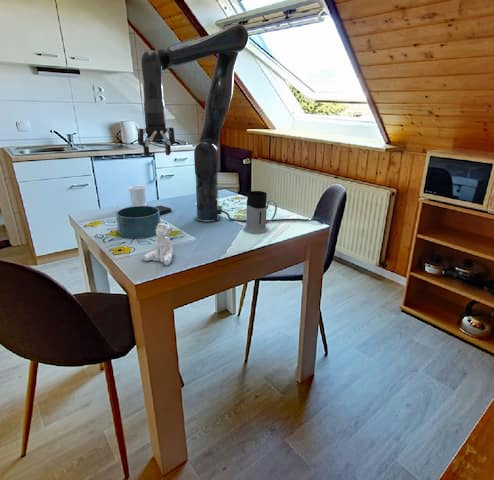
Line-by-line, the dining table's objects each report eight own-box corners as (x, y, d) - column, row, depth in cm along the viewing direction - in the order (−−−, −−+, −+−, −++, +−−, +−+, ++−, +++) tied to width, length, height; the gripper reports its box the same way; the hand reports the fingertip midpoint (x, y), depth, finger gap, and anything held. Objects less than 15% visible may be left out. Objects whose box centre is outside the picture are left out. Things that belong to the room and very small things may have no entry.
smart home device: (171, 208, 161) (136, 218, 146) (172, 211, 161) (136, 222, 147) (160, 204, 165) (124, 214, 151) (160, 208, 166) (125, 218, 151)
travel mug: (254, 224, 145) (256, 189, 140) (281, 233, 136) (284, 195, 130) (240, 229, 139) (241, 193, 134) (267, 238, 130) (269, 200, 124)
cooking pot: (164, 224, 144) (163, 206, 141) (154, 238, 129) (153, 218, 126) (126, 223, 145) (124, 205, 142) (112, 237, 130) (109, 217, 127)
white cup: (150, 206, 169) (148, 186, 165) (141, 210, 162) (139, 189, 159) (136, 204, 172) (134, 185, 168) (127, 209, 165) (125, 188, 161)
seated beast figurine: (142, 261, 111) (139, 225, 106) (157, 251, 118) (154, 217, 114) (168, 266, 108) (165, 229, 103) (181, 255, 115) (179, 221, 111)
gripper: (140, 112, 122) (144, 158, 128) (176, 111, 130) (178, 155, 136) (132, 111, 127) (136, 156, 133) (167, 111, 135) (170, 153, 141)
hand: (157, 155), depth 134 cm, fingers open, 8 cm apart
